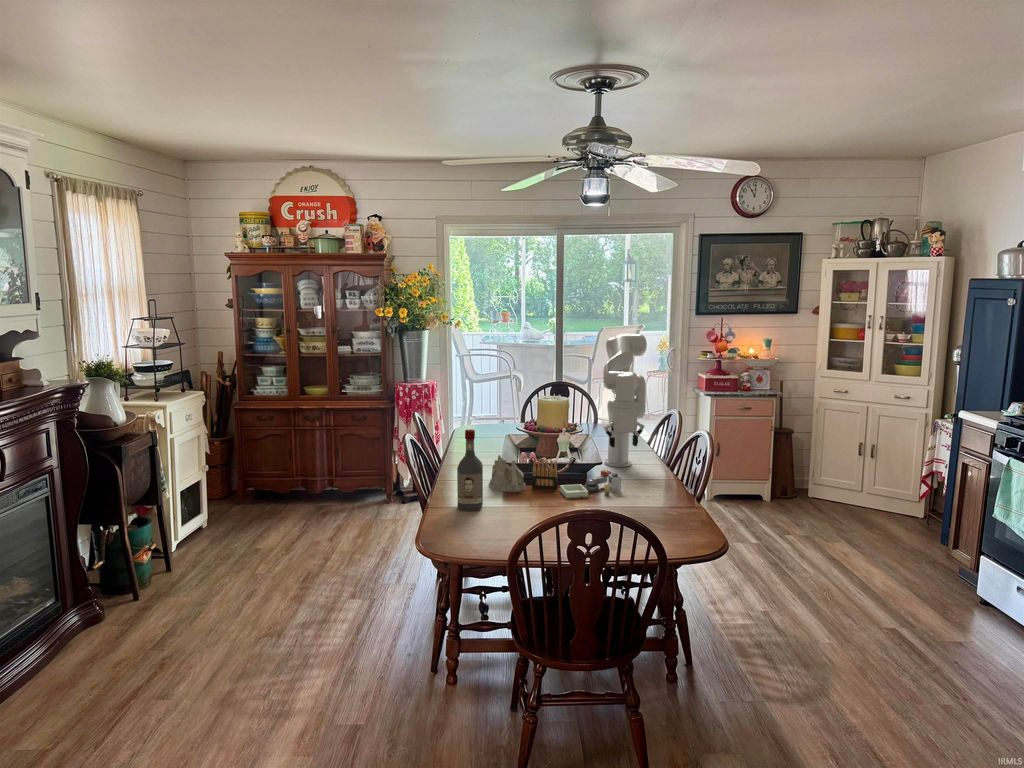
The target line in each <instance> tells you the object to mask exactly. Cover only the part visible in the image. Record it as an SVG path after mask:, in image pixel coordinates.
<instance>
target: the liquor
mask: <svg viewBox="0 0 1024 768" xmlns="http://www.w3.org/2000/svg"><path fill="white" fill-rule="evenodd" d="M475 431H476V430H475V429H465V430H464V439H465V455H464V456H463V457H462V458H461V460H459V463H458V465H457V468H456V471H457V473H456V474H457V475H456V477H457V478H456V480H457V509H458V510H459V511H462V512H477V511H480V510H481V509H482V507H483V504H484V498H483V496H484V494H483V493H484V491H483V490H484V489H483V487H484V486H483V483H484V481H483V475H484V474H483V471H484V470H483V468H484V467H483V466H484V465H483V462H482V461H481V460H480V459H479V458H478V456H477V455H476V453H475V439H476V436H475V435H476V434H475V433H476V432H475Z"/></svg>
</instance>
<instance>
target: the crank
mask: <svg viewBox="0 0 1024 768" xmlns="http://www.w3.org/2000/svg"><path fill="white" fill-rule="evenodd" d="M611 474H612V471H609V470H605V469H602V470H600V475H599V476H595V477H592V478H586V483H585V484H586V485H587V486H590V487H594V486H596V485H600V484H606V483H608V478H609V475H611Z"/></svg>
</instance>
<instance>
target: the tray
mask: <svg viewBox="0 0 1024 768" xmlns="http://www.w3.org/2000/svg"><path fill="white" fill-rule="evenodd" d="M559 492H560V493H561V494H562V495H563V497H565V499H578V498H579V499H581V497H583V498H589V492H588V491H587V490H586V489H585V488H584V485H582V484H581V483H580V484H579V483H578V484H561V485H559Z"/></svg>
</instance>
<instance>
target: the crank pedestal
mask: <svg viewBox="0 0 1024 768" xmlns="http://www.w3.org/2000/svg"><path fill="white" fill-rule="evenodd" d="M586 484H587V483H585V484H584V485H583V487H584V488H585V489H586V490H587V491H588V493H597V492H599V487H600V486H599V485H600V484H598V485H596V486H594V487H590V486H587V485H586ZM609 489H610V485H609V484H608V483H604V493H603V495H604V496H605V497H609V496H610V491H609ZM613 496H616V497H622V495H621V494H616V493H613Z"/></svg>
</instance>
